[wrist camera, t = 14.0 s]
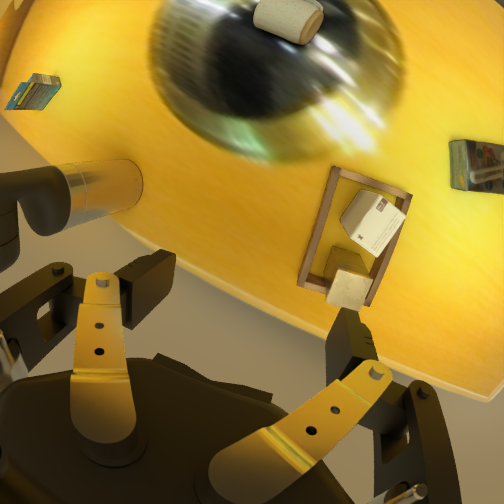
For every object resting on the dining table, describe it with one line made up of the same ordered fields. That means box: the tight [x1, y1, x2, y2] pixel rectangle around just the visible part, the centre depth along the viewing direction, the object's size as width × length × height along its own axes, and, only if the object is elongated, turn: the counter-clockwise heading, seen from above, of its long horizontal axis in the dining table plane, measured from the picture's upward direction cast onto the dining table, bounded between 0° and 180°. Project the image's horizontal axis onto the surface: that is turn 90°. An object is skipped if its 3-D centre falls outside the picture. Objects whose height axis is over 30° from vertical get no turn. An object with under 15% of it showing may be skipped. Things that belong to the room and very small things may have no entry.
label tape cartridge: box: [5, 73, 61, 110], centre depth 36 cm, size 9×4×12 cm, turn 117°
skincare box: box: [340, 189, 406, 258], centre depth 33 cm, size 6×4×12 cm
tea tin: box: [324, 246, 373, 312], centre depth 37 cm, size 5×5×10 cm
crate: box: [297, 166, 413, 307], centre depth 38 cm, size 12×18×4 cm, turn 166°
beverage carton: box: [449, 139, 504, 194], centre depth 28 cm, size 8×19×7 cm, turn 96°
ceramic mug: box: [253, 0, 324, 45], centre depth 27 cm, size 11×8×8 cm
